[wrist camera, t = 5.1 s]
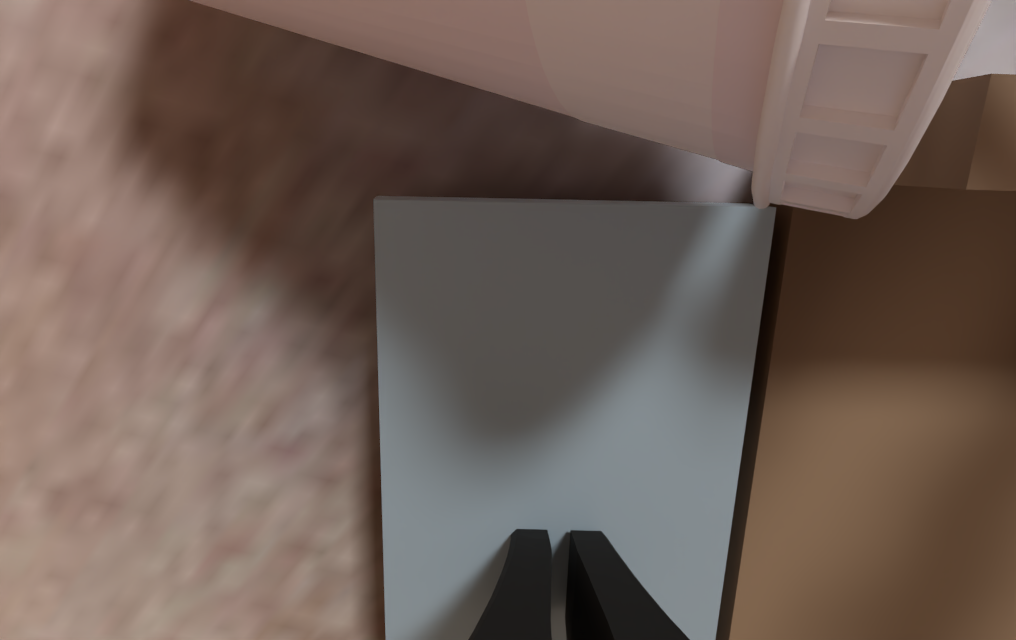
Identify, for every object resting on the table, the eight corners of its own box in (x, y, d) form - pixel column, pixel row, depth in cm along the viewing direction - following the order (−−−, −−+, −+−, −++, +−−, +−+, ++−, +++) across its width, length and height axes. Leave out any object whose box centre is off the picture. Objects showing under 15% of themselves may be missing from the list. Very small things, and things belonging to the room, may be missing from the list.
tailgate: (776, 207, 11) (373, 199, 10) (690, 819, 14) (391, 861, 13) (746, 203, 12) (376, 195, 11) (672, 777, 15) (393, 814, 14)
